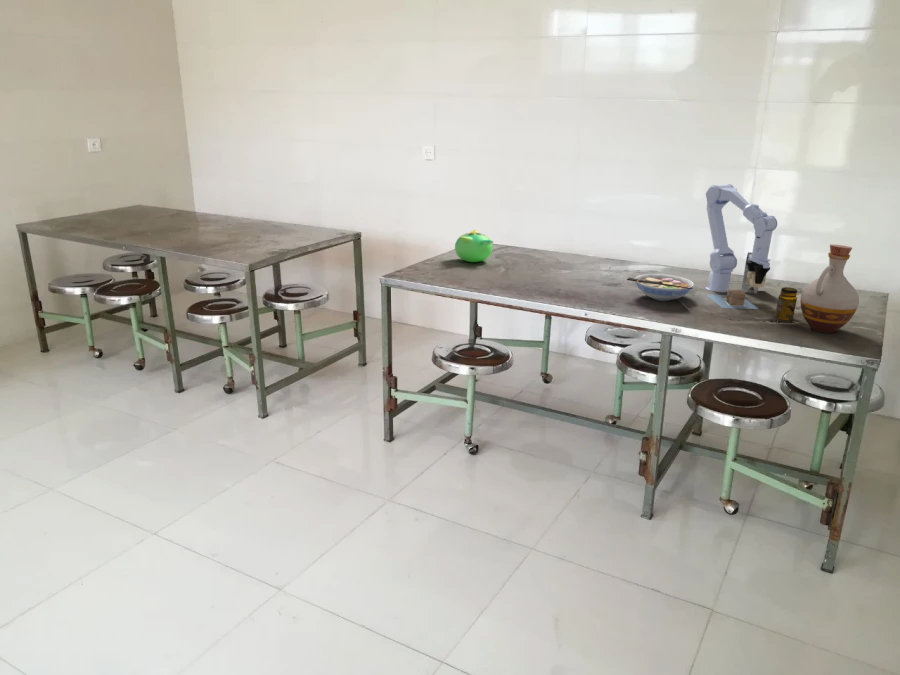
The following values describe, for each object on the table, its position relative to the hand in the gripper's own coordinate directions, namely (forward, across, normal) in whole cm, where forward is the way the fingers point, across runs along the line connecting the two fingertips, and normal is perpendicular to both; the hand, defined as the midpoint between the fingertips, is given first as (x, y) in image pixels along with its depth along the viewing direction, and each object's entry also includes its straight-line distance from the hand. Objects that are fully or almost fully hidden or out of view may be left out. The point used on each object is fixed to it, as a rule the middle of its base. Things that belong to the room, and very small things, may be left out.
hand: (755, 281), depth 265 cm
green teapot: (+9, +61, +109) cm, 125 cm away
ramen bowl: (+9, +4, +35) cm, 36 cm away
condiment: (+9, -21, -2) cm, 23 cm away
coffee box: (+9, +16, -6) cm, 19 cm away
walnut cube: (+8, -5, +9) cm, 13 cm away
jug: (+9, -31, -12) cm, 35 cm away
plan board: (+9, -2, +9) cm, 12 cm away
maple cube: (+2, 0, 0) cm, 2 cm away
